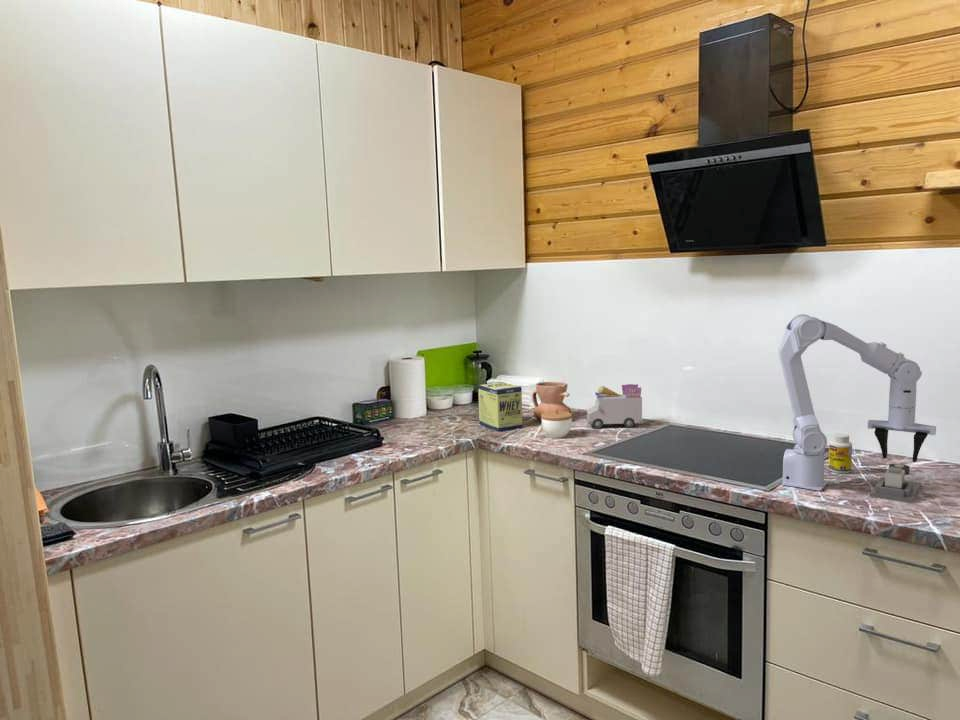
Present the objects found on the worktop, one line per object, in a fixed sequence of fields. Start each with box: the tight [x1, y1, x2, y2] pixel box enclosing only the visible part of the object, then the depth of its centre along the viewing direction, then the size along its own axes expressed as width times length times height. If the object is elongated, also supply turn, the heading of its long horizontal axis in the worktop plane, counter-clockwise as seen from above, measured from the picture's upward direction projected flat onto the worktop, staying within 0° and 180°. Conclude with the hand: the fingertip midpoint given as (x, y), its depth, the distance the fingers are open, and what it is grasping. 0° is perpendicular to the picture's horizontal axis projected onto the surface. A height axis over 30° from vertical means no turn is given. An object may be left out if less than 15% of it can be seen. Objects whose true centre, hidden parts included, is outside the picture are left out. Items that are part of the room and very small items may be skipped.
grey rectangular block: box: [884, 467, 906, 490], centre depth 170 cm, size 4×4×6 cm
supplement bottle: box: [828, 433, 853, 474], centre depth 190 cm, size 6×6×10 cm
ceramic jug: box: [531, 381, 572, 421], centre depth 267 cm, size 18×14×14 cm
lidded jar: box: [540, 409, 573, 439], centre depth 241 cm, size 11×11×9 cm
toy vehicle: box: [585, 383, 644, 430], centre depth 252 cm, size 9×20×15 cm, turn 88°
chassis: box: [869, 476, 923, 504], centre depth 173 cm, size 9×15×2 cm, turn 141°
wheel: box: [888, 463, 911, 476], centre depth 175 cm, size 4×4×2 cm
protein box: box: [477, 381, 523, 433], centre depth 258 cm, size 10×16×16 cm
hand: (899, 459), depth 175 cm, fingers open, 6 cm apart
